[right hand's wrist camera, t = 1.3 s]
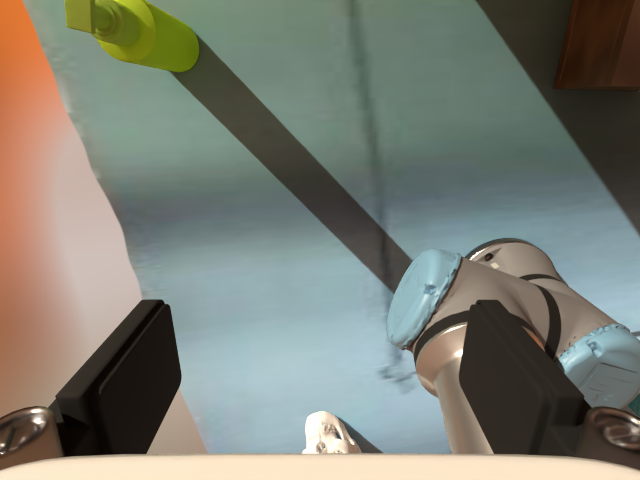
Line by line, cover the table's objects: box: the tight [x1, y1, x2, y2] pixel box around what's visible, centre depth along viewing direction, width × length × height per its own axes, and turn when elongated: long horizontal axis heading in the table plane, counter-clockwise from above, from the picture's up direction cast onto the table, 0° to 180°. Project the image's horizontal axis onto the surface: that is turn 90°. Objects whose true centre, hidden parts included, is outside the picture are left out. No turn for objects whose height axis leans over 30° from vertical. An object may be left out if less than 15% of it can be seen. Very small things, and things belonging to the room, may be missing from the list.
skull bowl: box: [302, 411, 362, 453], centre depth 67 cm, size 10×14×12 cm
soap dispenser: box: [65, 0, 199, 72], centre depth 37 cm, size 6×7×20 cm
